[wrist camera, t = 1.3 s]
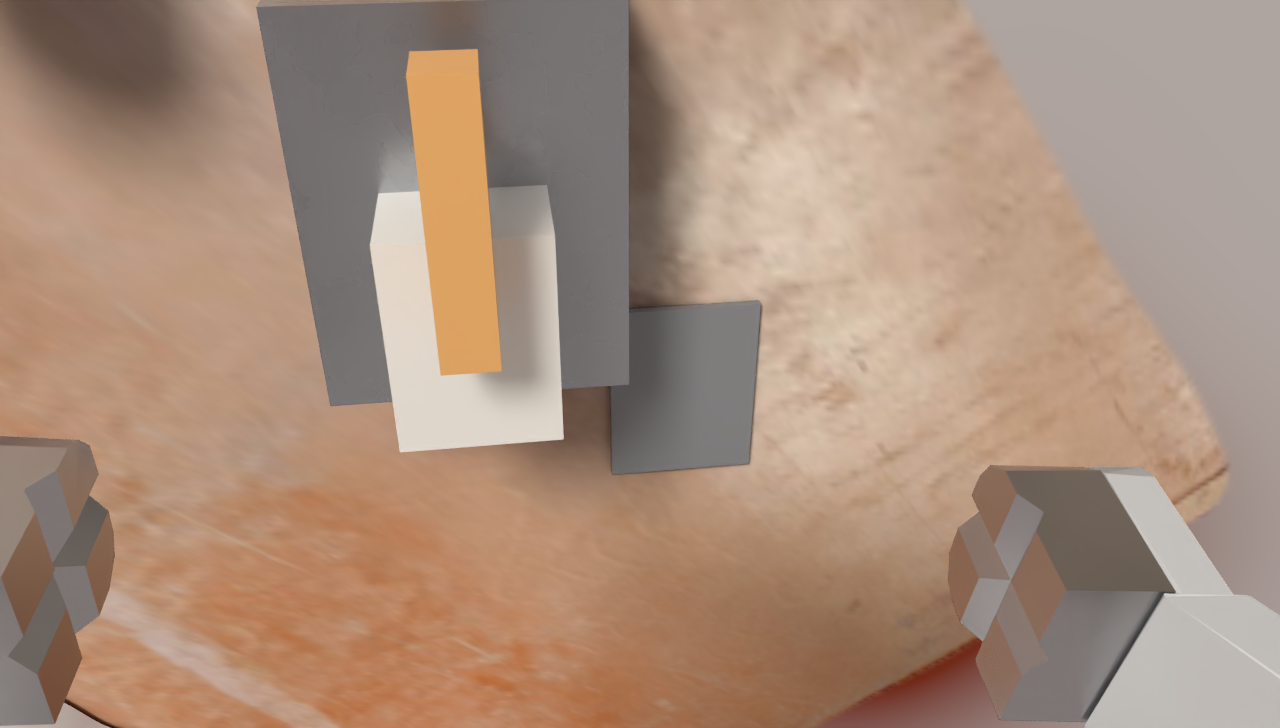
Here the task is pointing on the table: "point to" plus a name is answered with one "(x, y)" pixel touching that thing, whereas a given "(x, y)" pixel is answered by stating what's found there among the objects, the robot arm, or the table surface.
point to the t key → (455, 207)
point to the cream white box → (528, 325)
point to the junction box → (514, 141)
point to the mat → (686, 388)
